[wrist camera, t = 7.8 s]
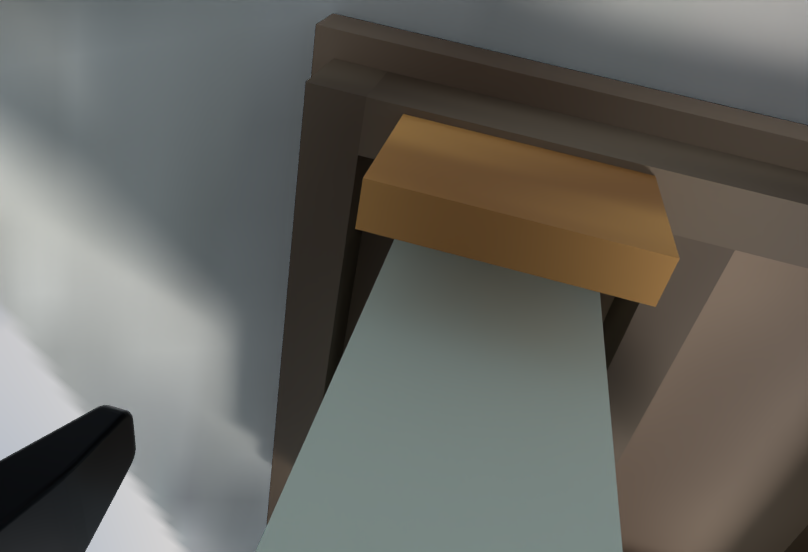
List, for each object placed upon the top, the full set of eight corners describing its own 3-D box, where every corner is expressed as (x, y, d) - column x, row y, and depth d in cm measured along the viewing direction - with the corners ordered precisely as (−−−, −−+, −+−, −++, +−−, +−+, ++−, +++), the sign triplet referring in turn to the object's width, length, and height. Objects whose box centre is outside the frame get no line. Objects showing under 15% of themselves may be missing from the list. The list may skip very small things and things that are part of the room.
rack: (1532, 296, 8) (2158, 576, 5) (978, 676, 14) (1100, 916, 11) (332, 13, 10) (213, 93, 6) (283, 474, 16) (210, 637, 12)
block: (596, 254, 10) (644, 795, 4) (497, 494, 13) (447, 977, 8) (409, 206, 10) (207, 656, 4) (358, 454, 14) (206, 893, 8)
